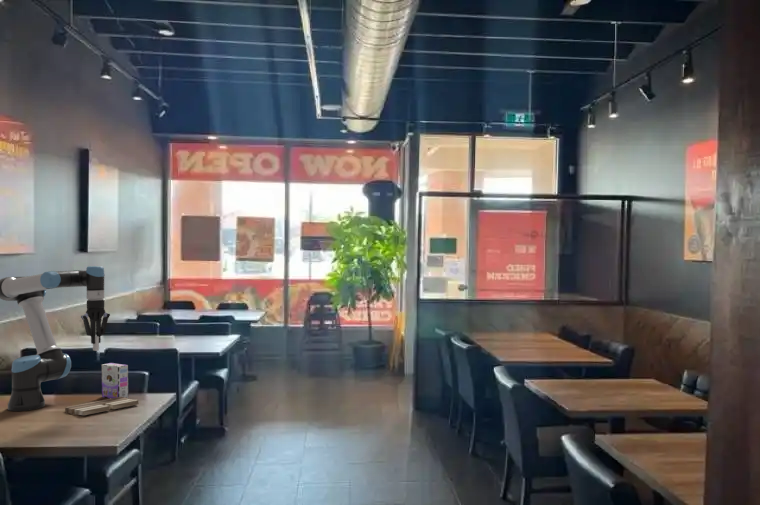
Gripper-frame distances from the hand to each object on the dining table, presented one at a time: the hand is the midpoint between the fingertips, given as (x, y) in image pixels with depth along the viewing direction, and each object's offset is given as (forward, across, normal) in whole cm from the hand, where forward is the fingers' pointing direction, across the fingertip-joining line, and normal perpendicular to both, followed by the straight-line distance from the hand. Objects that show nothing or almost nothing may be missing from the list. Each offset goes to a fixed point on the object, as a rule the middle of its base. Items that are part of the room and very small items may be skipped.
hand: (95, 350), depth 293 cm
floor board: (+26, +1, 0) cm, 26 cm away
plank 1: (+26, -6, -8) cm, 28 cm away
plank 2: (+26, +8, -8) cm, 29 cm away
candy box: (+27, +16, +13) cm, 34 cm away
